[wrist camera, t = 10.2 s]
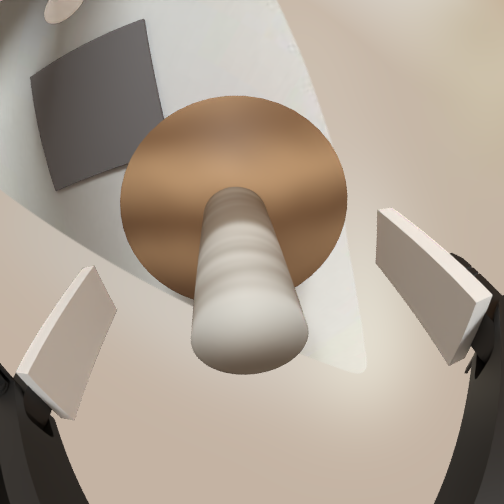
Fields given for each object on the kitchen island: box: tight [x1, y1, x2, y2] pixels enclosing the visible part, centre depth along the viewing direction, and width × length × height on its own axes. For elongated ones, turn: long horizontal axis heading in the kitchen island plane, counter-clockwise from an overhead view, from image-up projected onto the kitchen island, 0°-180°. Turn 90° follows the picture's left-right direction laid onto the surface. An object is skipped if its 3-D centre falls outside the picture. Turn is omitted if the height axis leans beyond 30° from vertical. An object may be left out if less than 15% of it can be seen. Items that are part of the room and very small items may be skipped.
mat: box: [30, 19, 164, 191], centre depth 23 cm, size 16×16×1 cm
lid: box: [120, 96, 347, 375], centre depth 14 cm, size 15×15×11 cm
